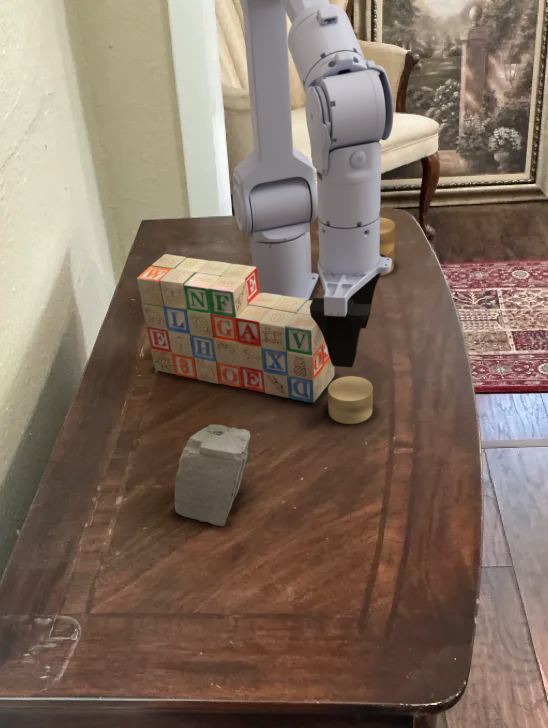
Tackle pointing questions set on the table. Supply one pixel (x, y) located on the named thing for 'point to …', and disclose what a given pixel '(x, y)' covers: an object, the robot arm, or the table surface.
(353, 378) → the tan wooden cylinder
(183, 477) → the mineral specimen
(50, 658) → the table surface
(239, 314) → the stack of blocks
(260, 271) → the robot arm
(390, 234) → the pile chip top
